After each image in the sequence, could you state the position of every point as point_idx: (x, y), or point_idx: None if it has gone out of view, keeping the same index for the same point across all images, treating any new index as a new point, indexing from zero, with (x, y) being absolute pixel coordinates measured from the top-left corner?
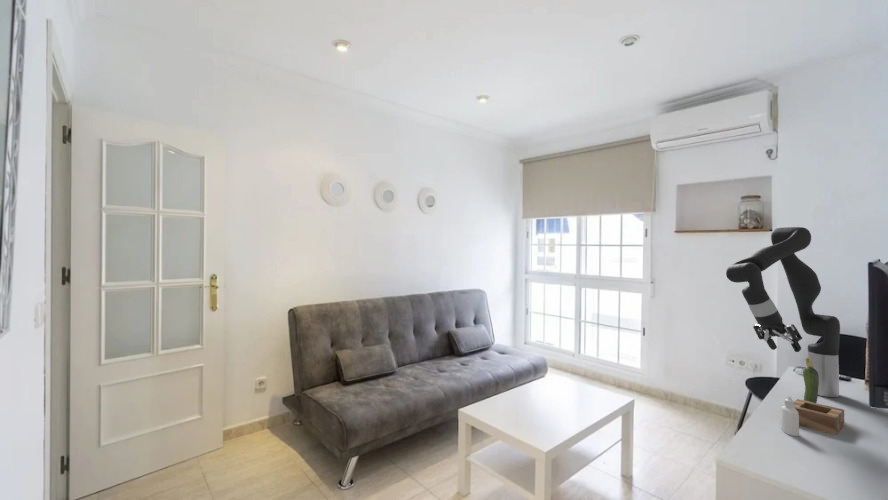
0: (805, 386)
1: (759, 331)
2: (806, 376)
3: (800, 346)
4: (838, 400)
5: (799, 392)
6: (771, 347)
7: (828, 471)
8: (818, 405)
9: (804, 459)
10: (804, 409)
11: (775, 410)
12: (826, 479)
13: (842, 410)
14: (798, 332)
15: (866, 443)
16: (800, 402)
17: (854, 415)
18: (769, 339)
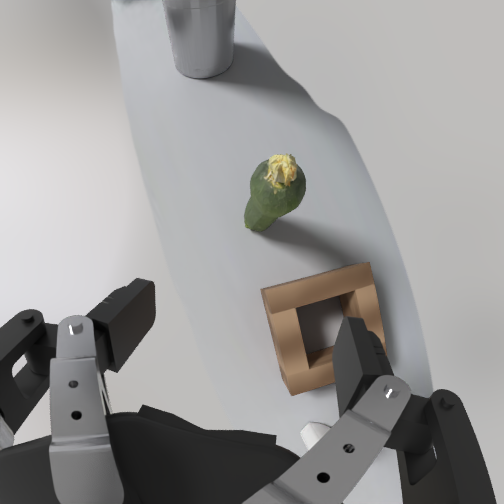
0: (255, 208)
1: (14, 420)
2: (274, 214)
3: (382, 347)
4: (243, 74)
5: (168, 93)
6: (141, 335)
7: (399, 486)
8: (326, 296)
9: (372, 491)
10: (326, 376)
11: (218, 321)
12: (401, 501)
13: (370, 274)
14: (478, 454)
15: (406, 334)
16: (289, 321)
17: (318, 155)
18: (102, 357)
